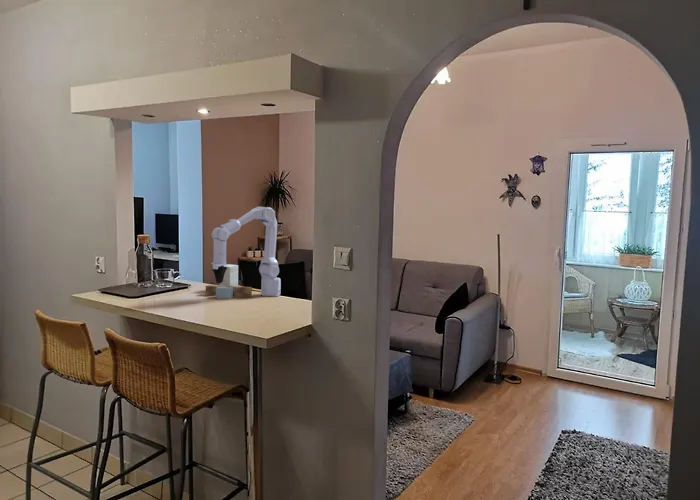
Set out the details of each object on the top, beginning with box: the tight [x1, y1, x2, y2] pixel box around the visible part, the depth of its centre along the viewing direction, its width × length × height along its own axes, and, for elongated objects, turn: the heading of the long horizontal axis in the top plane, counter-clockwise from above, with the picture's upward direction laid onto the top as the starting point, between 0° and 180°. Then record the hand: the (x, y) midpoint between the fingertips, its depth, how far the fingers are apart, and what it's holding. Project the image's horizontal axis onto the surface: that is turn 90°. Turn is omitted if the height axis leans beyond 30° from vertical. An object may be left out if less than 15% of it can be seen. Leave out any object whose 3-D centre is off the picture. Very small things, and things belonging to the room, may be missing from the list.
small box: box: [219, 263, 239, 286], centre depth 276 cm, size 8×6×13 cm
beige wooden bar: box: [205, 284, 253, 298], centre depth 263 cm, size 22×4×4 cm, turn 86°
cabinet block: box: [215, 287, 234, 300], centre depth 257 cm, size 8×4×5 cm, turn 87°
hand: (219, 282), depth 250 cm, fingers closed
